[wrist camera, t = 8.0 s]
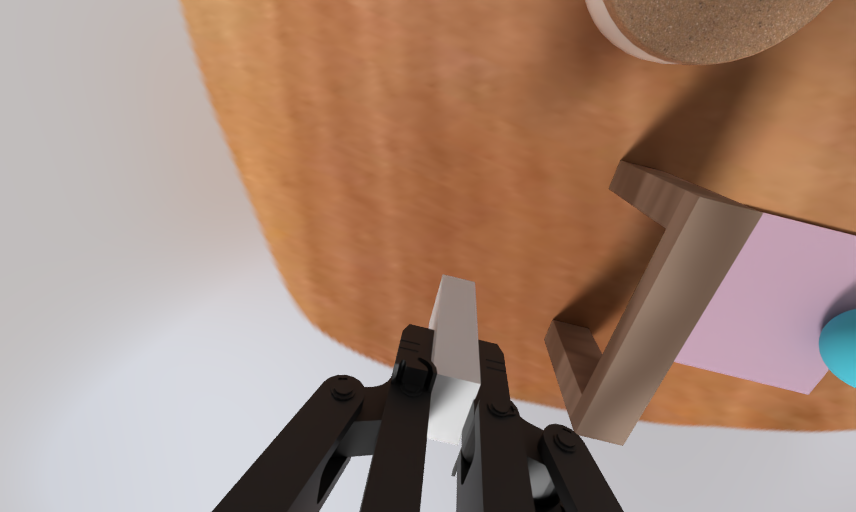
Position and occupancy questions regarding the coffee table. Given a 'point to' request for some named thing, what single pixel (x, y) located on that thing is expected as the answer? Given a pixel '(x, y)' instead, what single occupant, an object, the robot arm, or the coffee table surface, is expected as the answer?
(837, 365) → the ball
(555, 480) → the robot arm
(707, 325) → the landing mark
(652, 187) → the bridge
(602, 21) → the lidded jar
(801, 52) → the coffee table surface
